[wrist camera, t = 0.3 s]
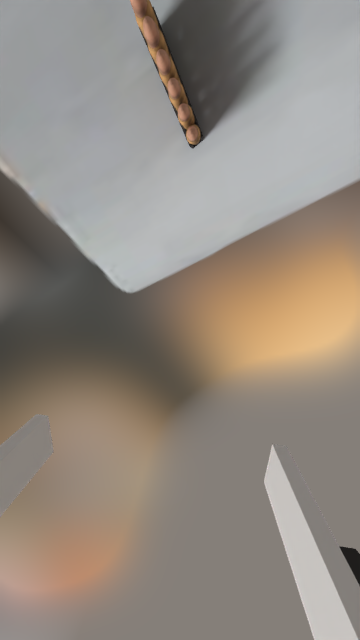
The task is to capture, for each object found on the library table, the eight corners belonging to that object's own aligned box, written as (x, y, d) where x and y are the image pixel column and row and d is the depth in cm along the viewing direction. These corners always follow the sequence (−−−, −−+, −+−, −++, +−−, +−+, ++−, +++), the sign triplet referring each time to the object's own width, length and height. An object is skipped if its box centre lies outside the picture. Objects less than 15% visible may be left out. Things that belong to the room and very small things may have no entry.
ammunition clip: (147, 42, 21) (111, -26, 13) (160, 26, 21) (130, -58, 12) (192, 148, 27) (188, 151, 19) (203, 139, 26) (204, 137, 18)
